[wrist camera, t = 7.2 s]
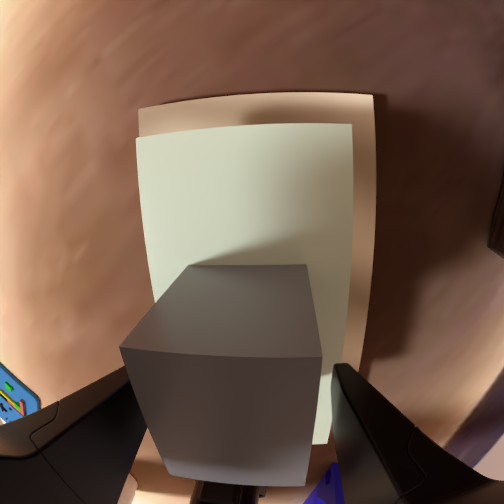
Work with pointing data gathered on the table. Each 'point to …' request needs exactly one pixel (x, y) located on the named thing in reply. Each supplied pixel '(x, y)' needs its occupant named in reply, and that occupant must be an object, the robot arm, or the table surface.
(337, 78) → the table surface
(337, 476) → the cable clip
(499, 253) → the pepper mill
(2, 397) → the handheld gaming device
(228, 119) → the plate
